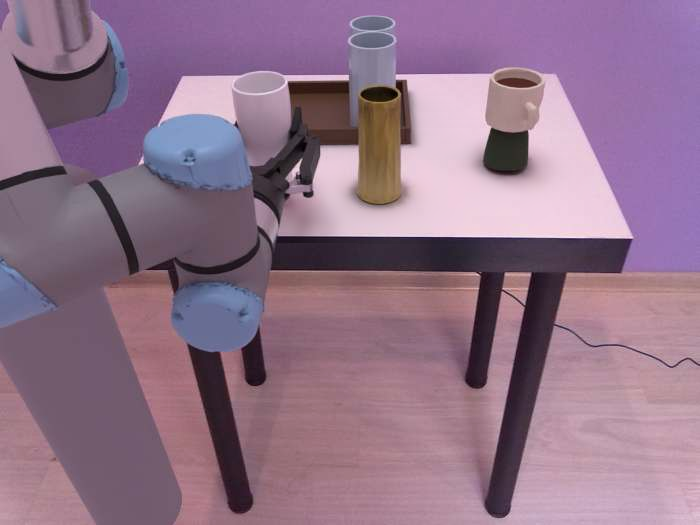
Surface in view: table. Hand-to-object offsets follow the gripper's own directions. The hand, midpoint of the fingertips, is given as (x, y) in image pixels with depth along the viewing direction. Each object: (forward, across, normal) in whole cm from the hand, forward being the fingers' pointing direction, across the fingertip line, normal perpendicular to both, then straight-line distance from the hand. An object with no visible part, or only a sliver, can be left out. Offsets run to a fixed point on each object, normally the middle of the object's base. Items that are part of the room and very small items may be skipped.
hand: (271, 116), depth 81 cm
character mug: (+4, +32, -10) cm, 34 cm away
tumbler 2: (+15, +13, -10) cm, 22 cm away
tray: (+19, +6, -10) cm, 22 cm away
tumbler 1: (+22, +13, -10) cm, 28 cm away
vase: (-3, +14, -10) cm, 18 cm away
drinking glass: (-5, 0, -8) cm, 10 cm away
